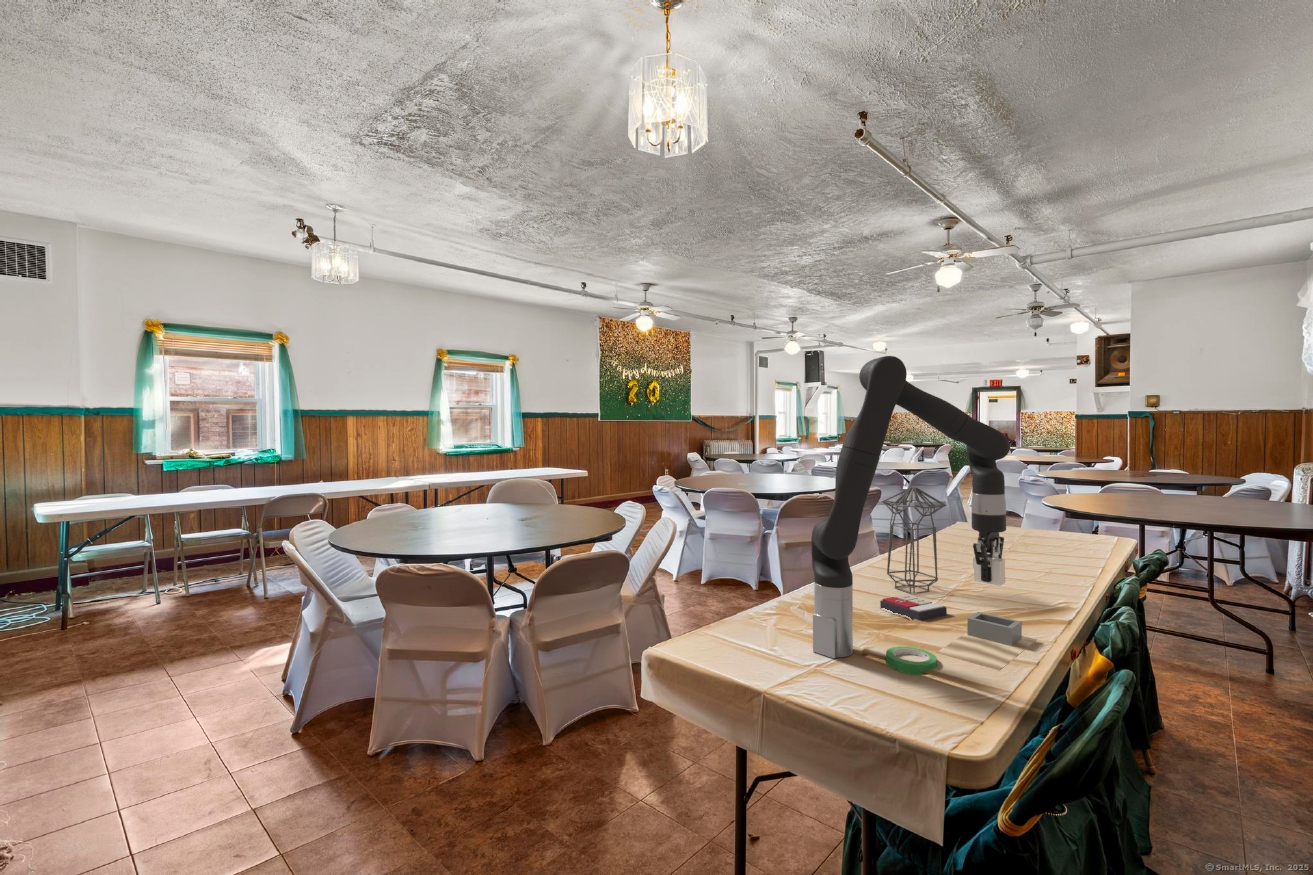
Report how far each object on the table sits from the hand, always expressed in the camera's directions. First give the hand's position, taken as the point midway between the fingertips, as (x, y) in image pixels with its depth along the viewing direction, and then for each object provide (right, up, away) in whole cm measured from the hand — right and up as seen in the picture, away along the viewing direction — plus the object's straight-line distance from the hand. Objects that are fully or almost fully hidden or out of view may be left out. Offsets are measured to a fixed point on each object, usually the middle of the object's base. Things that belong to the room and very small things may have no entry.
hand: (989, 579), depth 145 cm
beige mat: (0, -18, +1) cm, 18 cm away
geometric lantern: (+4, -16, +52) cm, 55 cm away
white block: (0, -1, 0) cm, 1 cm away
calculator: (-7, -18, +28) cm, 34 cm away
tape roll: (-23, -19, -7) cm, 31 cm away
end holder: (+5, -17, +6) cm, 18 cm away
